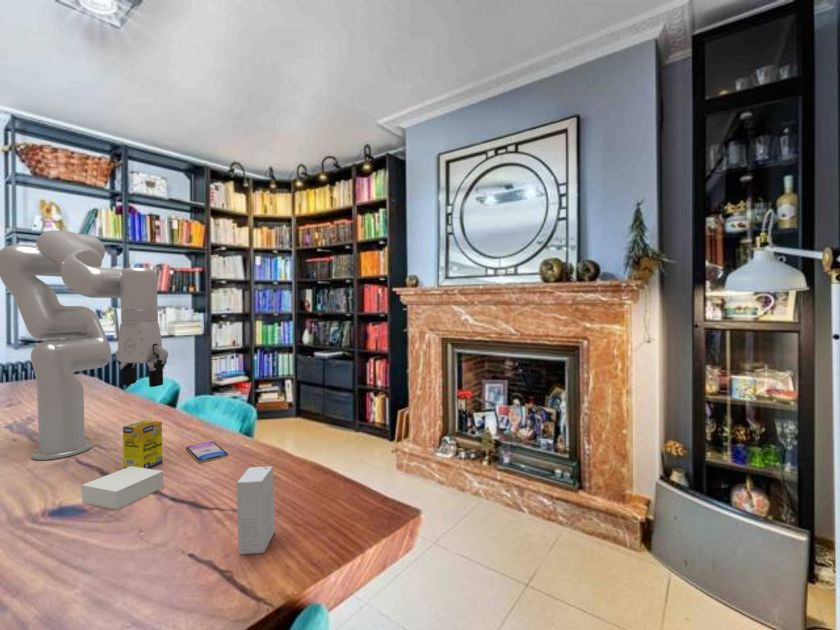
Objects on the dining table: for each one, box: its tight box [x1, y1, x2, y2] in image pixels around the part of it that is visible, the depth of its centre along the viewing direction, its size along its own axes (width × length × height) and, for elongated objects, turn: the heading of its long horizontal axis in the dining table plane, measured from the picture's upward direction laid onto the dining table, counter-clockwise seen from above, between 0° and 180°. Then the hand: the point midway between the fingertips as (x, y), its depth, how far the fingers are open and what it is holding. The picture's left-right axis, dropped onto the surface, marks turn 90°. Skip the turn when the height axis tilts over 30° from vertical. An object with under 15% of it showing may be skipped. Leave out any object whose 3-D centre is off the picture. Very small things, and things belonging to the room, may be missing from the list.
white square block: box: [81, 466, 164, 510], centre depth 84 cm, size 10×10×4 cm
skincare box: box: [236, 466, 275, 555], centre depth 66 cm, size 6×4×12 cm
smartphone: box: [185, 441, 229, 464], centre depth 108 cm, size 8×15×1 cm, turn 43°
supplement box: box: [122, 419, 163, 469], centre depth 99 cm, size 6×6×11 cm
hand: (142, 385), depth 99 cm, fingers open, 9 cm apart
